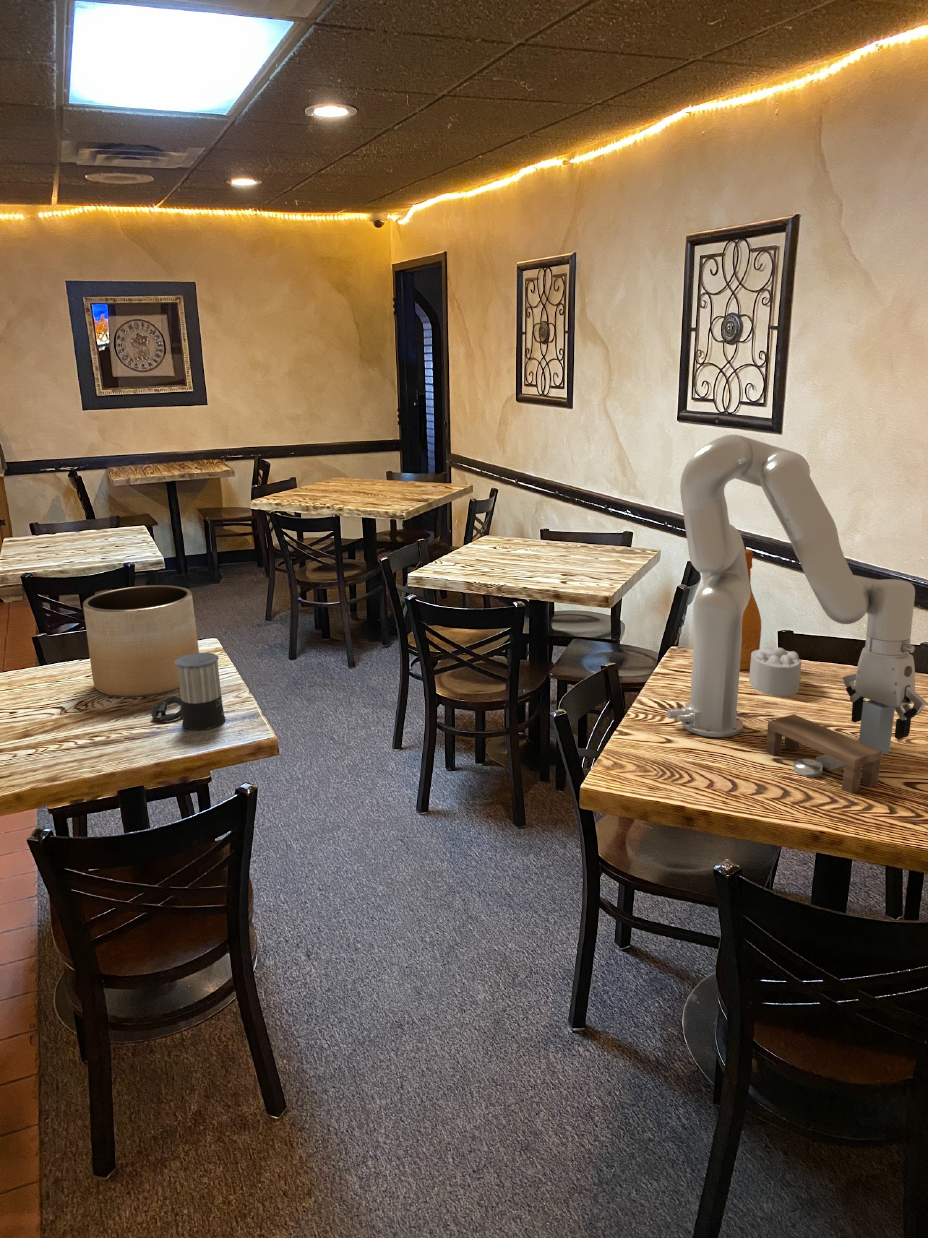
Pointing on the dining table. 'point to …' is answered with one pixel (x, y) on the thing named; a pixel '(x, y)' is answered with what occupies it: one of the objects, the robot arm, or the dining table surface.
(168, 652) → the beige ceramic crock
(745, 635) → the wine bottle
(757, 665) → the lumpy-topped squat cylinder
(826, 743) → the stand
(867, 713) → the grey block
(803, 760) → the token
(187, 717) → the milk frother
